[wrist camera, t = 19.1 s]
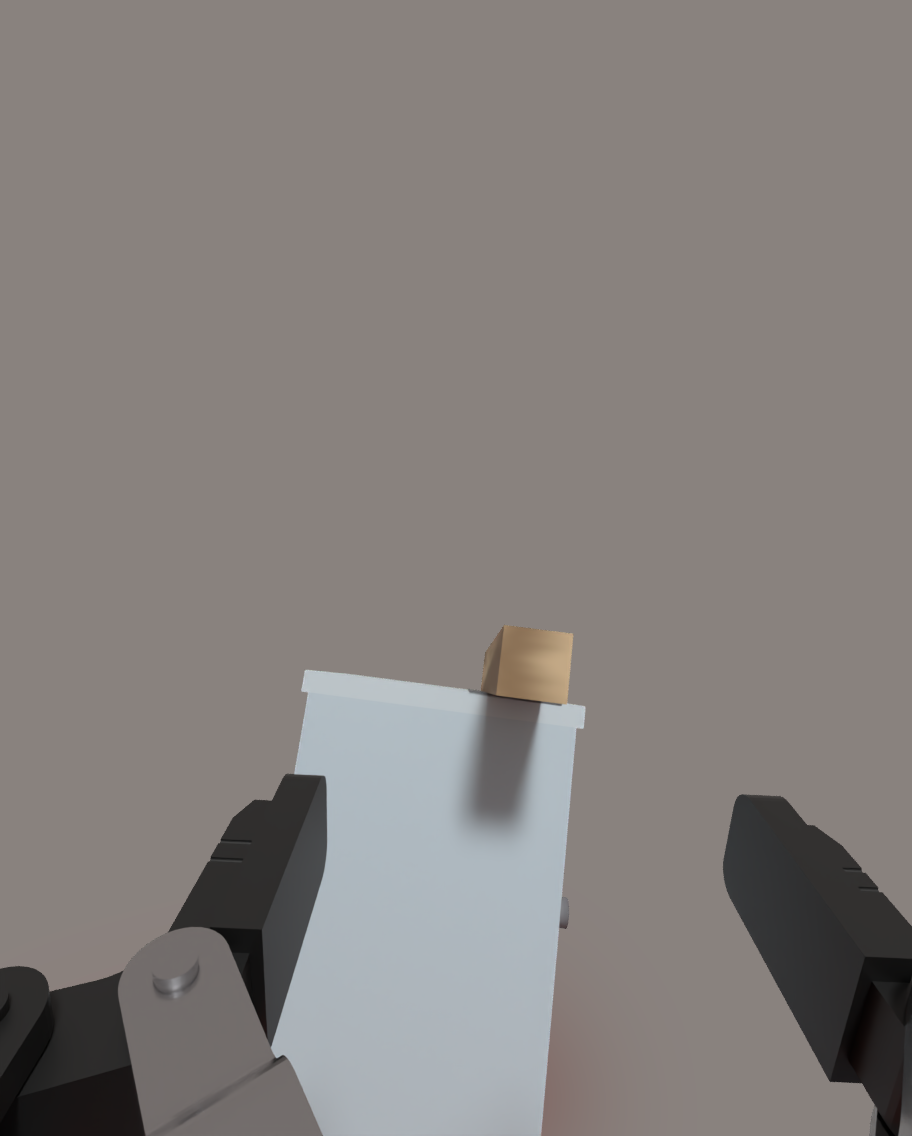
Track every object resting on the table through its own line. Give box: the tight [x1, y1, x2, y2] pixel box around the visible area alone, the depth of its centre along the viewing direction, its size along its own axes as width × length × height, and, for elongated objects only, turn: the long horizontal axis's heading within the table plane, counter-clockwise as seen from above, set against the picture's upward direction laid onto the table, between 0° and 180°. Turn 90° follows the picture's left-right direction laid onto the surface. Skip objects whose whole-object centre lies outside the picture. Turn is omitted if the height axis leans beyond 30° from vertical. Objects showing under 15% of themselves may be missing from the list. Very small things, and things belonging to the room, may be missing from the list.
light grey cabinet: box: [271, 670, 585, 1136], centre depth 36 cm, size 17×13×32 cm
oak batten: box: [481, 625, 573, 705], centre depth 36 cm, size 3×22×3 cm, turn 179°
